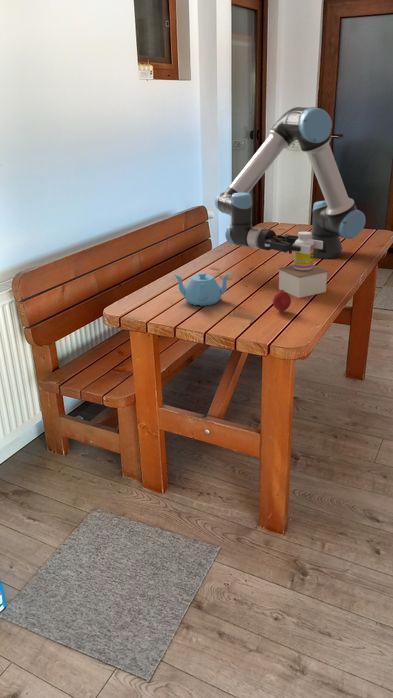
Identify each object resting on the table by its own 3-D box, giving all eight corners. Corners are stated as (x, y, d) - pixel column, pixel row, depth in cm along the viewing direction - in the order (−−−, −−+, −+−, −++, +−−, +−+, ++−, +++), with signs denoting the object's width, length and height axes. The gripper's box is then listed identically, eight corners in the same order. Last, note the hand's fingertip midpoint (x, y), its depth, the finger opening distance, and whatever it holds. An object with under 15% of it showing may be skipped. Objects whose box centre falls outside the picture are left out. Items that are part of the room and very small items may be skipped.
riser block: (305, 283, 216) (306, 262, 213) (326, 291, 206) (327, 270, 202) (278, 288, 211) (278, 267, 208) (298, 298, 201) (299, 276, 197)
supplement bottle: (312, 271, 201) (314, 235, 196) (293, 270, 203) (294, 234, 198) (312, 266, 207) (314, 231, 202) (294, 266, 209) (295, 230, 204)
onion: (271, 309, 192) (271, 286, 188) (288, 308, 192) (288, 285, 189) (274, 315, 186) (275, 292, 183) (292, 314, 187) (293, 291, 183)
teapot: (204, 291, 211) (203, 264, 207) (233, 300, 201) (233, 272, 197) (174, 302, 202) (172, 273, 198) (203, 311, 192) (202, 282, 188)
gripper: (278, 243, 221) (330, 251, 207) (245, 254, 208) (299, 265, 193) (278, 223, 218) (331, 231, 204) (245, 234, 204) (300, 243, 190)
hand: (315, 247), depth 198 cm, fingers open, 7 cm apart
